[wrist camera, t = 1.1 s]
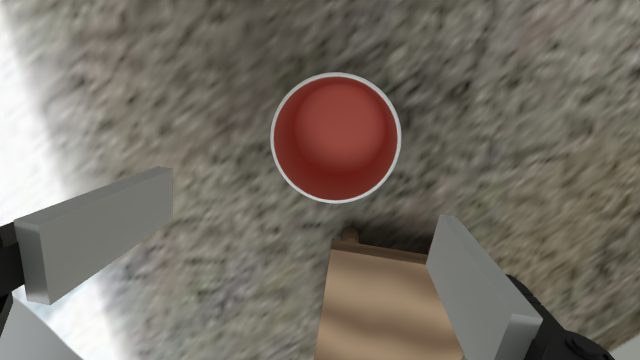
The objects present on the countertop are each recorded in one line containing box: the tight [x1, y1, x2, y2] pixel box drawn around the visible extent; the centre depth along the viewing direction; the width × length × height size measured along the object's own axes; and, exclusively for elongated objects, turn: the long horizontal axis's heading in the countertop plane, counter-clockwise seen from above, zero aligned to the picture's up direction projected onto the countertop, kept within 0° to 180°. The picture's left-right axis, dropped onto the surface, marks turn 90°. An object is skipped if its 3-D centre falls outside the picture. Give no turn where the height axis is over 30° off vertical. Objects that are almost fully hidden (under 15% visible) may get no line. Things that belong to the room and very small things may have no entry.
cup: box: [270, 72, 401, 203], centre depth 27 cm, size 10×10×10 cm
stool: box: [314, 227, 463, 360], centre depth 32 cm, size 14×14×8 cm
